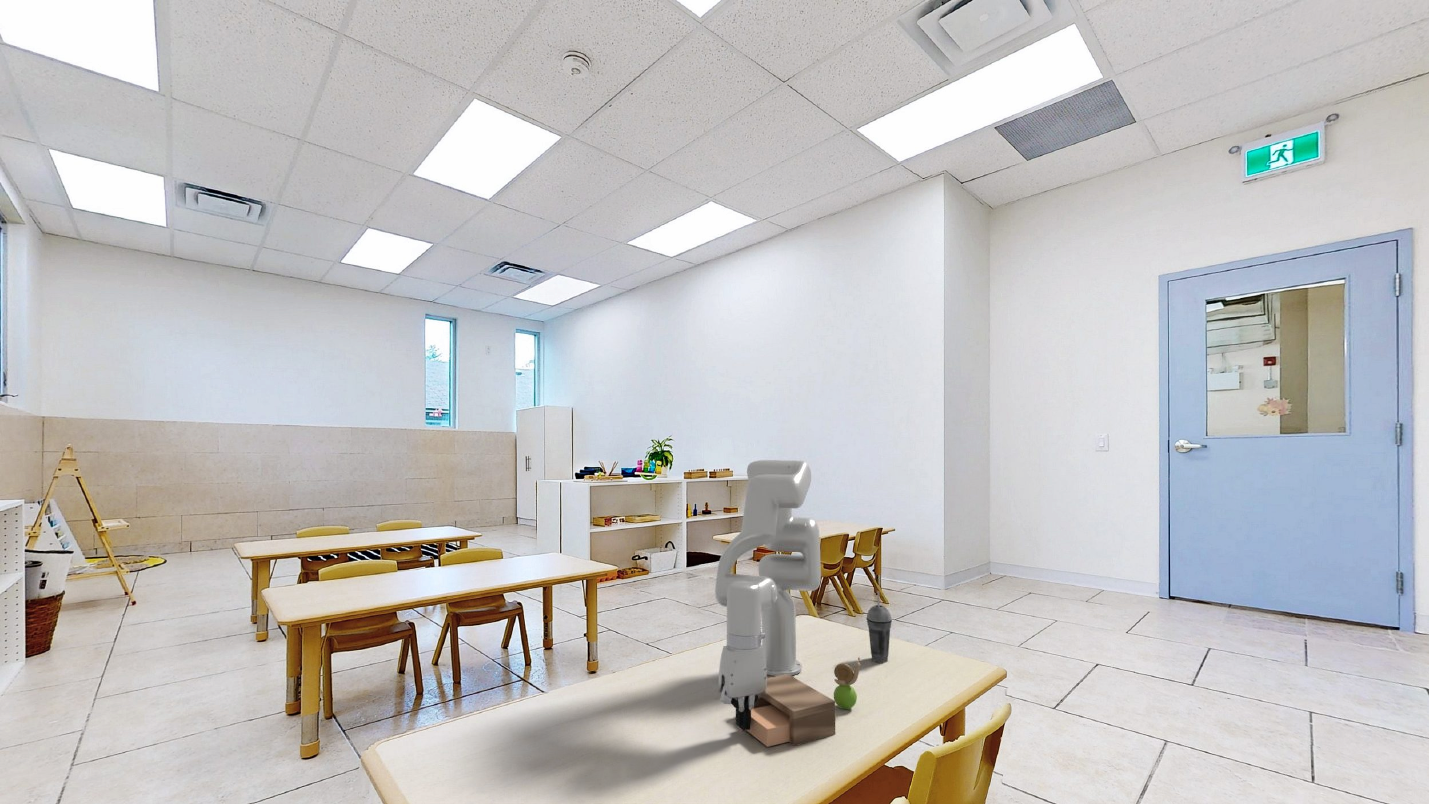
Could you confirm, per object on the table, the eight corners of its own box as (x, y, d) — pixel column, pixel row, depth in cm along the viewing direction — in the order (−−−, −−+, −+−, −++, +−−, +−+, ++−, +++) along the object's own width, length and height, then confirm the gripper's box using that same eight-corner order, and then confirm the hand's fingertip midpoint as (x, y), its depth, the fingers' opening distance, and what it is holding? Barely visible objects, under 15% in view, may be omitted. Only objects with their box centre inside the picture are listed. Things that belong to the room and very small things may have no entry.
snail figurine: (861, 714, 143) (860, 661, 144) (833, 711, 144) (833, 659, 145) (860, 704, 149) (860, 654, 149) (833, 702, 150) (833, 652, 151)
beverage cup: (893, 657, 181) (892, 588, 183) (892, 665, 174) (890, 594, 176) (868, 654, 184) (867, 586, 185) (865, 662, 177) (864, 592, 178)
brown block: (749, 712, 144) (749, 682, 145) (787, 703, 149) (787, 673, 150) (794, 746, 128) (793, 711, 129) (835, 734, 133) (835, 701, 134)
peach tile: (742, 727, 136) (742, 710, 136) (794, 715, 142) (794, 700, 143) (767, 746, 127) (767, 729, 127) (821, 733, 134) (821, 717, 134)
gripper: (763, 632, 141) (763, 715, 139) (705, 640, 134) (704, 727, 132) (781, 640, 134) (781, 728, 132) (721, 649, 127) (720, 742, 126)
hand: (743, 727), depth 132 cm, fingers closed
